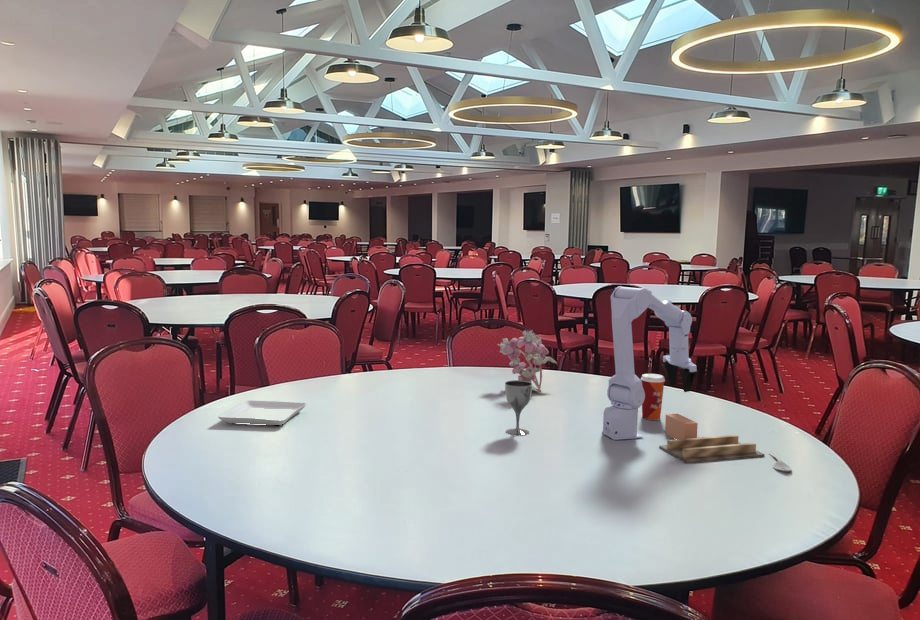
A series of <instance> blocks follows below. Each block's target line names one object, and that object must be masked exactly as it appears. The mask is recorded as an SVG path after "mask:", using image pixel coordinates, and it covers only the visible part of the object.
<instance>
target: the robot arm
mask: <svg viewBox="0 0 920 620" xmlns="http://www.w3.org/2000/svg"><path fill="white" fill-rule="evenodd" d="M610 307H611V308H610V309H611V326H612V327H611V329H612V341H613V343H612V344H613V357H614V368H615V374H614V375H612V376H611V377H610V378H609V379H608V386H607V387H608V388H607V390H606V391H607V393H606V394H607V398H608V400H609V401H610V405H611V406H607V407H605V408H604V410H603V417H602V418H603V419H602V421H603V422H602V430H601V433H602V434H604V435H605V436H606V437H609V438H610V439H612V440H613V441H617V440H618V441H619V440H630V439H631V440H633V439H642V438H644V437H643V435H641V434H640V433H639V432H638V416H639V415H638V414H639V408H641V407H642V404H643V402H644V399H645V392H644V389H643V387H642V380H641V378H639V376H638V375H636V374H635V360H634V359H635V357H634V345H633V343H634V342H633V331H632V329H633V328H632V322H633V321H634V320H635V319H638V318H639V317H640V316H641V315H642V314H643V312H645V311H646V310H647V309H649V310H652V311H654V315H655V316H656V317H657V318H658V319H660V320H661V321H663V322H664V324H665V326H666V327H668V335H669V336H668V337H669V341H668V342H669V343H668V344H669V354H668V355H663V356H662V362H663V363H661V368H662V369H663V371H664V373H665V375H666V379H667V382H668V386H670V387H671V386H676V385H677V380H678V379H677V375H678V373H679V375H680V378H681V381H682V390H683V392H684V393H687V392H689V393H690V392H691V391H692V388H693V383H694V380H695V378H696V377H697V375H698V373H699V370H697V365H696V364H695V363H693V362H692V358H690V356H689V353H690V352H689V334H690V332H691V326H692V324H693V317H692V314H691V313H690V312H689V311H687V310H681V309H680V307H679V306H678V305H675V304H673V303H672V301H671V300H670V299H665V300H660V299H659V298H658V297H656V296H655V295H654V294H653V292H652V290H649V289H648V288H645V287H642V288H641V287H638V288H637V287H628V286H622V285H619V286H617V287H615V289H614V290H613V292H612V293H611V295H610ZM679 368H682V370H679Z"/></svg>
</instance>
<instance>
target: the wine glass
mask: <svg viewBox="0 0 920 620" xmlns="http://www.w3.org/2000/svg"><path fill="white" fill-rule="evenodd" d="M532 387H533V383H532V381H531V382H528V381H521V380H508V381H505V383H504V391H505V398H506V401H507V404H508V405H509V406H510V407H511V409H512V411H514V414H515V421H516V422H515V423H516V425H515V428H509V429H506V430H505V433H506V434H507V433H508V435H509V434H510V436H514V435H516V436H515V437H522V436H521V435H524V436H527V434H528V435H529V434H530V431H529V430H527V429H525V428H520V417H521V413H522V411H523V410H524V409H525V408H526V406H528V405H529V403H530V400H531V397H532V391H533V390H532ZM519 435H520V436H519Z"/></svg>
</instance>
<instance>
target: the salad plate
mask: <svg viewBox="0 0 920 620" xmlns="http://www.w3.org/2000/svg"><path fill="white" fill-rule="evenodd" d="M306 405H307V403H306V402H294V401H293V402H292V401H278V400H277V401H276V400H275V401H274V400H273V401H272V400H245V401H243V402H241V403H240V404H237V405H236V406H234V407H232V408H229V410H226V411H225V412H224V413H222V414H220V415H219V416H218V419H219V420H221V421H222V422H225V423H227V422H228V424H232V423H250V424H266V425H280V426H282V424H283V425H284V424H285V423H287V421H289V420H290V419H291V418H293V417H294V416H295V415H297V414H298V413H299V412H300V411H302V410H303V409H304V408H305V407H306ZM250 408H264V409H292V410H296V411H294V412H293V413H292V414H291V415H290V416H289V417H287V418H286V419H284V420H281V421H279V420H266V419H255V418H236V417H237V416H239V415H240V414H242V413H244V412H246V411H247V410H249V409H250ZM296 413H297V414H296Z"/></svg>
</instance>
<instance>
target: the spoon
mask: <svg viewBox="0 0 920 620" xmlns="http://www.w3.org/2000/svg"><path fill="white" fill-rule="evenodd" d="M768 454H769V455H770V456H771V457H773V458H774V459H776V460H777V461H776V462H775V463H774V464H773V468H774V469H775V470H777V471H779V472H785V473H786V472H792V467H791V466H789V465H788V464H787V463H785V462H784V461H783V460H781V459H780V458H779V456H778V454H777V453H776V452H775V451H768Z"/></svg>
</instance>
